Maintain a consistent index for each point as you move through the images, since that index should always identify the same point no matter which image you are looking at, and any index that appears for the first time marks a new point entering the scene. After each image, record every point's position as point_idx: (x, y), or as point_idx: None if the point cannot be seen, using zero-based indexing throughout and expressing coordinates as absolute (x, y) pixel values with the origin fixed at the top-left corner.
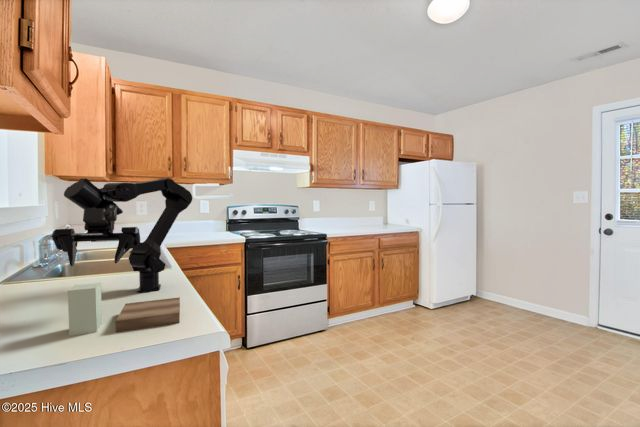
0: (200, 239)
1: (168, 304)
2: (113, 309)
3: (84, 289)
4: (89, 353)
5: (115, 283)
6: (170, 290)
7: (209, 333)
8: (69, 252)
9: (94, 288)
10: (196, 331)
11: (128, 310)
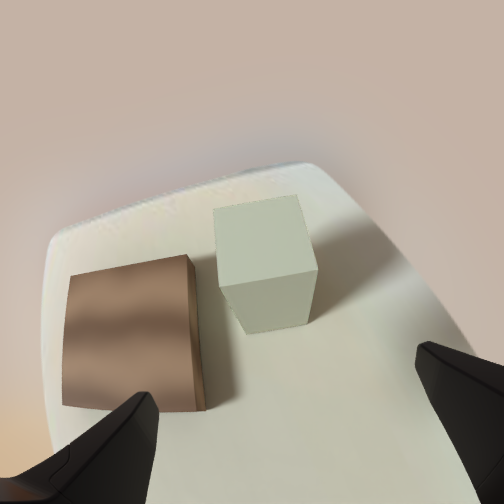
0: None
1: (82, 348)
2: (261, 467)
3: (246, 203)
4: (219, 192)
5: None
6: None
7: (61, 232)
8: (496, 371)
9: (216, 209)
10: (71, 243)
11: (170, 331)
